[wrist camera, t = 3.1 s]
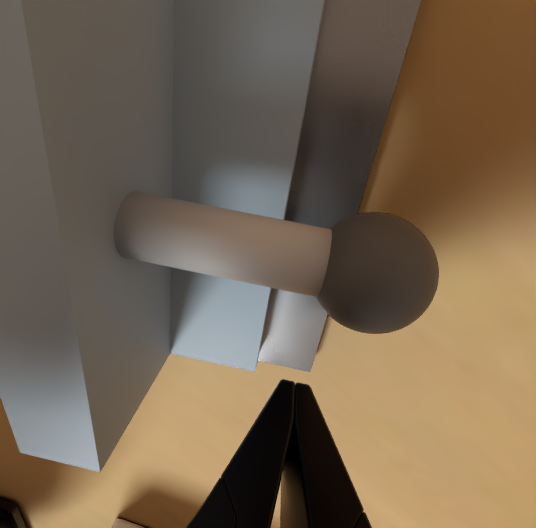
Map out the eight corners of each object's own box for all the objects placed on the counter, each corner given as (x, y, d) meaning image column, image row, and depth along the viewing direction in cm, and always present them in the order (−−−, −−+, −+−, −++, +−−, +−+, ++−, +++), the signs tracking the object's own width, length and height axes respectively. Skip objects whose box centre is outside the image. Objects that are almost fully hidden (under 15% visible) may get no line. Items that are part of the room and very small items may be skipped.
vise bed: (310, 360, 12) (310, 371, 12) (56, 305, 13) (45, 314, 12) (430, -48, 7) (439, -61, 6) (-26, -115, 7) (-51, -131, 7)
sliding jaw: (345, 370, 12) (363, 536, 7) (130, 323, 12) (20, 452, 8) (490, -20, 6) (878, -297, 2) (104, -78, 7) (-287, -408, 2)
